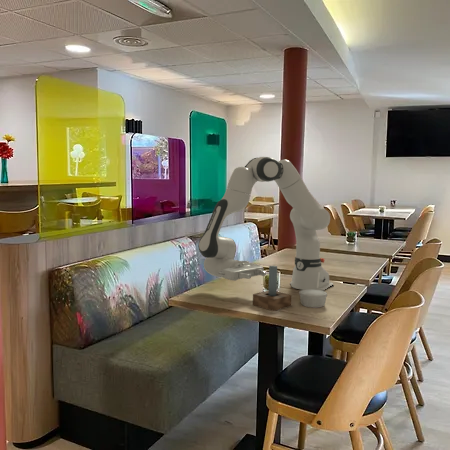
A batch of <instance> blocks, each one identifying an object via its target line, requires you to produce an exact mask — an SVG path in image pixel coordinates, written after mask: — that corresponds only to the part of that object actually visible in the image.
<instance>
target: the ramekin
mask: <svg viewBox="0 0 450 450" xmlns="http://www.w3.org/2000/svg"><path fill="white" fill-rule="evenodd" d="M298 294H299V298H300V303H301V305H302V306H304V307H307V308H312V309H314V308H322V307H324V306H325V304H326V301H327V297H328V293H327V292H326V291H325V290H323V291H321V290H301V289H300V290H299V291H298Z"/></svg>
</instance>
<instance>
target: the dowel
mask: <svg viewBox="0 0 450 450" xmlns="http://www.w3.org/2000/svg"><path fill="white" fill-rule="evenodd" d="M268 267H269V268H268V290H267V291H268V296H272V297H274V296H276V291H277V287H278V286H277V284H278V265H269V266H268Z"/></svg>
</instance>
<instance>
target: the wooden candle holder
mask: <svg viewBox="0 0 450 450" xmlns="http://www.w3.org/2000/svg"><path fill="white" fill-rule="evenodd" d="M292 296H293V295H292V294H290V293H289V294H288V293H286V292H280V291H277V290H276V296H274V297H272V296H268V290H264V291H260V292H257V293H252V306H255V307H259V308H263V309H266V310H269V311H273V312H275V311H278V310H283V309H285V308H288V307H292Z"/></svg>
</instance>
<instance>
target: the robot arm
mask: <svg viewBox="0 0 450 450" xmlns="http://www.w3.org/2000/svg"><path fill="white" fill-rule="evenodd" d="M232 171H233V172H232V173H231V175H230V178H229V180H228V182H227V187H226V190H225V193H224V195H223V197H222V198H221V199H219V200H218V202H217V203H216V204H215V206H214V209H213V211H212V214H211V216H210V219H209V220H208V223H207V226H206V228H205V230H204V232H203V234H202V236H201V237H200V239H199V242H198V250H199V253H200V254H201V256H203V257H204V258H205V259H204V261H203V268H204V270H205V271H206V272H207V273H208V274H210V275H211V276H213V277H218V278H223V279H226V280H229V281H238V280H242V279H248V280H250V279H251V278H252V277H256V276H257V277H258V276H262V277H265V276H266V275H267V273H266V271H265V270H264V266H262V265H260V264H258V263H252V262H250V261H248V260H236V259H235V257H236V253H237V244H236V242H235V241H234V239H233V238H231V237H225V236H220V235H219V233H220V232H221V229H222V226H223V224H224V221H225V219H226V218H227V217H228V216H230V215H232V214H235V213H238V212H241V211H243V210H244V209H245V208H247V206H248V205H249V202H250V198H251V194H252V190H253V187H254V186H255V184H257V182H260V183H263V182H268V183H269V182H273V181H274V182H275V183H276V185H277V187H278V189H279V190H280V192H281V193H282V195H283V198H284V199H285V201H286V203H288V204H289V206H291V207H292V209H291V211H290V213H289V219H290V221H291V223H292V226H293V229H294V234H295V241H296V242H295V243H296V245H295V257H294V266H293V269H292V277H291V281H290V282H289V284H290V287H292V288H293V289H298V290H300V291H301V290H321V291H325V289H326V290H328V289H329V288H328V287H330V286H332V285H333V284H334V285H335V283H333V282H331V281H330V273H329V272H328V271H327V270H326V269H325V268H324V267H323V266H322V263H323V264H324V263H325V260H326V259H325V258H322V257H320V256H321V255H320V254H321V240H320V239H319V237H318V235H317V231H320V230H324V229H326V228H327V227H328V226H329V225H330V222H331V214H330V212H329V211H328V210H327V209H325V208H324V207H323V206H322V205H321V204H320V202H319V201H318V200H317V199H316V198H315V197H314V196H313V194H312V193H311V192H310V190H309V189H308V187H307V185H306V183H305V182H304V180H303V178H302V176H301V175H300V173H299V172H298V170H297V168H296V167H295V166H294V165H293V163H292V161H290V160H288V159H281V160H277V159H276V158H273V157H271V156H259V157H255V158H251V159H250V160H249V161H248V162H247V163H246V165H245V166H238V167H236V168H234V169H233V170H232ZM329 282H330V283H329ZM332 287H333V286H332ZM327 288H328V289H327ZM330 288H331V287H330Z"/></svg>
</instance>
